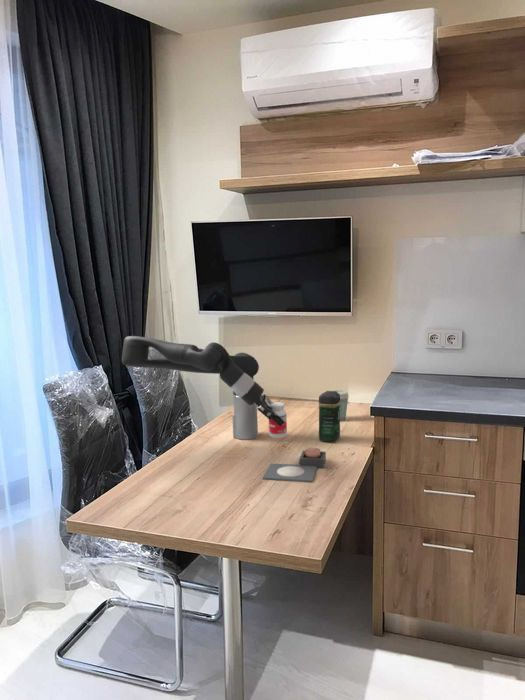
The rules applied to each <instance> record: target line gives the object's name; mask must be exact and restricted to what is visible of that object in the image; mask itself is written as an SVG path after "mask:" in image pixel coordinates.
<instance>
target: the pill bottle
mask: <svg viewBox="0 0 525 700" xmlns="http://www.w3.org/2000/svg"><path fill="white" fill-rule="evenodd" d="M269 404H270V403H269ZM270 405H271V406H272V407H273V411H274V412H275V413H276V414H277V415H278V416H279V417H280V418H281V419H282V420H284V424H283V425H282V426H279V425H278V424H277V423H276V422H275V421H273V420H269V419H268V435H269V436H270V437H271V438H284V437H286V436H287V434H288V430H287V429H288V427H287V425H288V424H287V411H286V410H285V405H284V403H283V402H273V403H272V404H270ZM269 415H271V413H269Z"/></svg>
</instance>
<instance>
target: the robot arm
mask: <svg viewBox="0 0 525 700" xmlns="http://www.w3.org/2000/svg"><path fill="white" fill-rule="evenodd" d="M150 348H152V349H155V350H156V351H158V352H159V353H160V354H161V355H162V356H160V357H157V358H153V359H149V355H150V354H149V352H150ZM121 363H122V365H124V366H127V367H132V368H147V369H163V370H164V369H165V370H171V371H180V372H187V373H194V374H195V373H196V374H197V373H198V374H213V375H214V374H215V375H216V374H218V375H219V378H220V379H221V380H222V382H224V383H225V385H227V386H228V387H229V388H231V390H232V396H233V397H232V398H233V399H232V400H233V413H232V436H233V437H234V438H233V439H238V440H252V439H256V438H258V436H259V428H258V427H259V426H258V421H259V420H258V412H260V413H261V414H263V415H264V417H266V419H268V421H269V420H273V421H275V422H276V423H277V424H278V425H279V426H282V425H283V424H284V420H282V419H281V418H280V417H279V416H278V415H277V414H276V413H275V412H274V411H273V407H272V406H271V405H270V404H272V403H274V402H273V401H272V400H271V399H270V398H269V397H268V396H267V395H266V394H263V393H264V391H265V390H264V388H263V387H262V386H261V385H260V384H259V383H258V382H257V381H255V378H254V376H256V375H257V374H258V372H259V370H260V366H259V363H258V360H257V359H256V358H255V357H254V356H252V355H250V354H248V353H246V352H238V353H235V355H230V354H229V352H228V350H226V348H225V346H223V345H222V344H220V343H218V342H210V343H208V344H207V345H206V346H205V347H204V349H203V348H199V347H198V346H197V345H194V344H192V343H191V344H190V343H189V344H188V343H177V342H170V341H167V340H161V339H156V338H152V337H145V336H138V335H128V336H126V337H125V338H124V339H123V346H122V354H121ZM269 413H271V415H269Z"/></svg>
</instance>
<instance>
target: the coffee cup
mask: <svg viewBox="0 0 525 700" xmlns="http://www.w3.org/2000/svg"><path fill="white" fill-rule="evenodd" d="M334 391H336V392H337V393H339V394H340V422H343V421H346V420H345V419H347V418H346V417H347V411H348V410H347V409H348V399H349V394H348V391H347V390H339V389H338V390H334Z"/></svg>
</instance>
